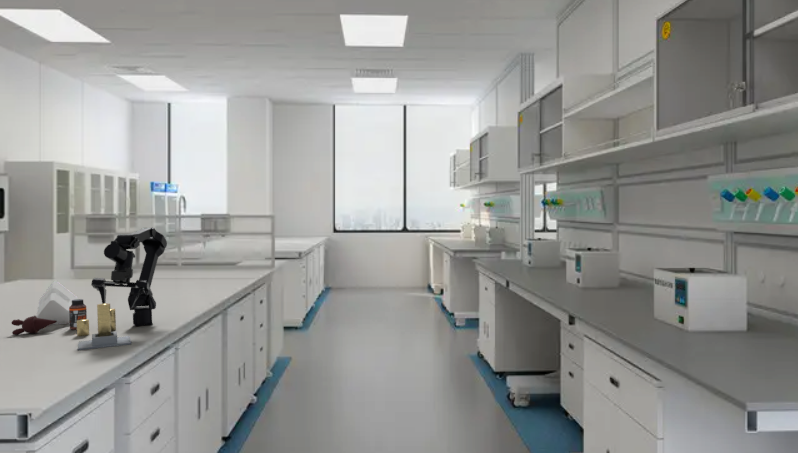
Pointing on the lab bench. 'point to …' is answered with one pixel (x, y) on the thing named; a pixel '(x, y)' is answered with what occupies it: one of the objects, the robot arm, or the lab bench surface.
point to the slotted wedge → (56, 303)
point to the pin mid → (113, 319)
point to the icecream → (31, 325)
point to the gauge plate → (104, 341)
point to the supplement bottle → (77, 312)
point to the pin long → (104, 320)
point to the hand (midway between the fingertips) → (117, 307)
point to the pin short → (83, 327)
